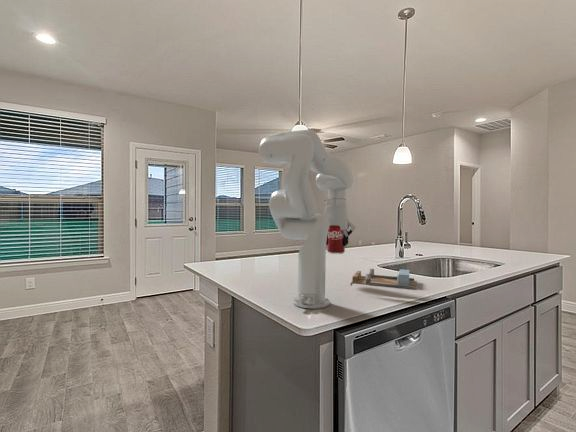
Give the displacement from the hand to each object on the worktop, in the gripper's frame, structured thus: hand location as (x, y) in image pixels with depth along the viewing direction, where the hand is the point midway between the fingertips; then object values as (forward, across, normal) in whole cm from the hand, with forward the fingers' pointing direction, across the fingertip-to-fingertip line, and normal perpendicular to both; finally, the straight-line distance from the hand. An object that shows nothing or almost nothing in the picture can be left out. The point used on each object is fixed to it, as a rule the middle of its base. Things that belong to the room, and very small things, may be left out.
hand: (336, 244), depth 134 cm
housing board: (+18, +19, +11) cm, 28 cm away
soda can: (+4, 0, 0) cm, 4 cm away
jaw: (+16, +27, +11) cm, 33 cm away
